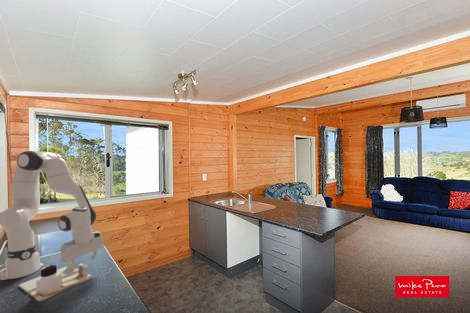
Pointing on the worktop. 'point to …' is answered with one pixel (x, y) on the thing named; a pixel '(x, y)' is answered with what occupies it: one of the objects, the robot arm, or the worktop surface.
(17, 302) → the worktop surface
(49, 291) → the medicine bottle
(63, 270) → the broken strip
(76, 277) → the birch strip
